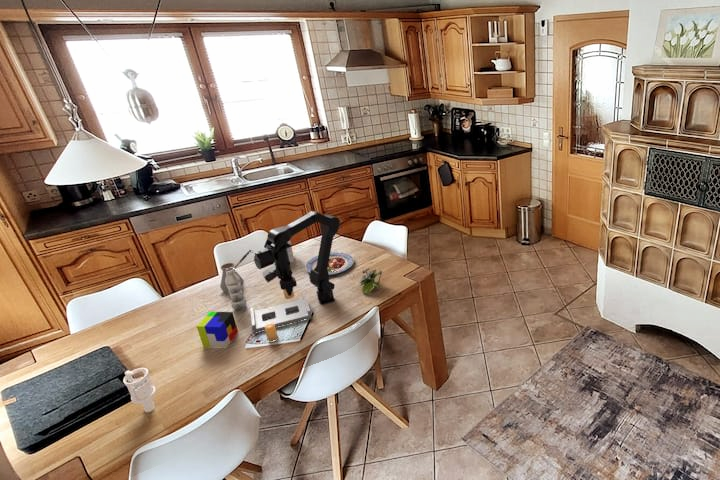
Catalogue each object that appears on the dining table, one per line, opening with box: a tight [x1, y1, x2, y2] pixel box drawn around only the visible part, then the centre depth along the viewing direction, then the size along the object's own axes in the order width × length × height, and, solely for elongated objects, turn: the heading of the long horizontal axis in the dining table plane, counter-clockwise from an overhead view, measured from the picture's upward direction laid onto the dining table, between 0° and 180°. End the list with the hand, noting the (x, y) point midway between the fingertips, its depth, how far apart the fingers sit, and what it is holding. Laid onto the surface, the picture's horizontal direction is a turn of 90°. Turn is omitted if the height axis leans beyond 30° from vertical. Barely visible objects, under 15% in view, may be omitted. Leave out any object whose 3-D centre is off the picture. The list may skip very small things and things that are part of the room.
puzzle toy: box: [196, 311, 239, 349], centre depth 159 cm, size 10×10×10 cm
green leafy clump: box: [358, 268, 383, 294], centre depth 183 cm, size 11×11×12 cm
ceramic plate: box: [304, 251, 355, 276], centre depth 210 cm, size 26×26×3 cm
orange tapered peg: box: [282, 289, 295, 300], centre depth 166 cm, size 4×4×6 cm
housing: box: [250, 294, 313, 334], centre depth 170 cm, size 24×14×4 cm, turn 107°
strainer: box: [122, 367, 157, 413], centre depth 127 cm, size 7×7×15 cm
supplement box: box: [273, 240, 295, 264], centre depth 220 cm, size 9×9×15 cm
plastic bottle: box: [225, 267, 247, 311], centre depth 177 cm, size 6×7×20 cm
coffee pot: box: [219, 249, 254, 294], centre depth 200 cm, size 21×12×15 cm, turn 143°
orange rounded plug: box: [264, 324, 279, 341], centre depth 156 cm, size 4×4×6 cm
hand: (289, 293), depth 166 cm, fingers closed on orange tapered peg, 4 cm apart
